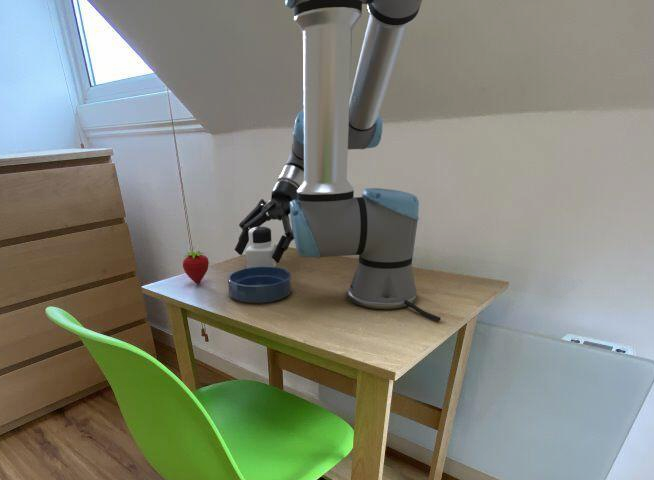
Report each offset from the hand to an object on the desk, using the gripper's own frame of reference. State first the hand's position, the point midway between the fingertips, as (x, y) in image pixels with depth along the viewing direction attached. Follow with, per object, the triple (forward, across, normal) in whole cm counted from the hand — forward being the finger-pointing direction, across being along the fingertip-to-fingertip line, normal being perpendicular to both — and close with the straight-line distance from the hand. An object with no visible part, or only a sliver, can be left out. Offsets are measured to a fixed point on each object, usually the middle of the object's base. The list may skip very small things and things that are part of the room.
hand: (255, 256), depth 118 cm
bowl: (+11, -11, +4) cm, 16 cm away
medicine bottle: (+2, 0, -5) cm, 6 cm away
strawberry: (+14, +8, +7) cm, 17 cm away
